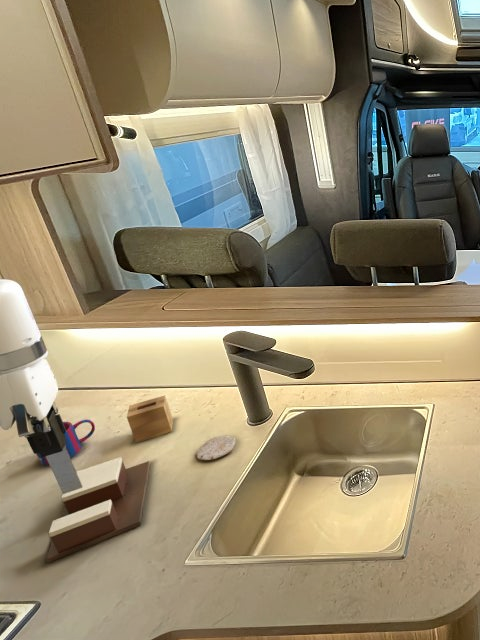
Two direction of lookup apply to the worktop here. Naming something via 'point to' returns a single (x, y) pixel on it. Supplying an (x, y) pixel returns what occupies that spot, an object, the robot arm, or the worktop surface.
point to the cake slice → (83, 525)
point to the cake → (97, 485)
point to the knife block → (150, 418)
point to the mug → (71, 440)
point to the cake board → (117, 510)
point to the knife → (61, 459)
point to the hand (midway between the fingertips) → (50, 441)
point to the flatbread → (216, 447)
